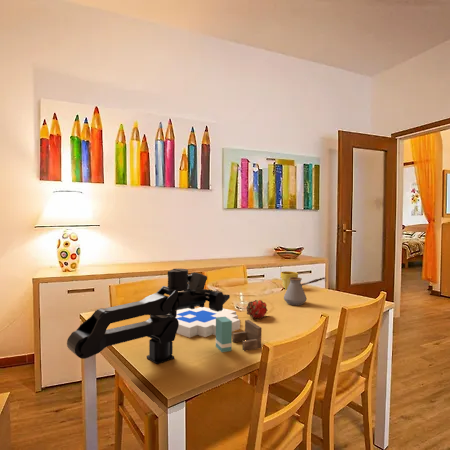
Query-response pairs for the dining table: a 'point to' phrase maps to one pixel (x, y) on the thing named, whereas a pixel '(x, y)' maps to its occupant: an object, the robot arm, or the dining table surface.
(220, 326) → the book
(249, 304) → the dragon fruit
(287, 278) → the plant pot
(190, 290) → the robot arm
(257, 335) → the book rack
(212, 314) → the stepped white slab
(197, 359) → the dining table surface
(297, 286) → the coffee pot
